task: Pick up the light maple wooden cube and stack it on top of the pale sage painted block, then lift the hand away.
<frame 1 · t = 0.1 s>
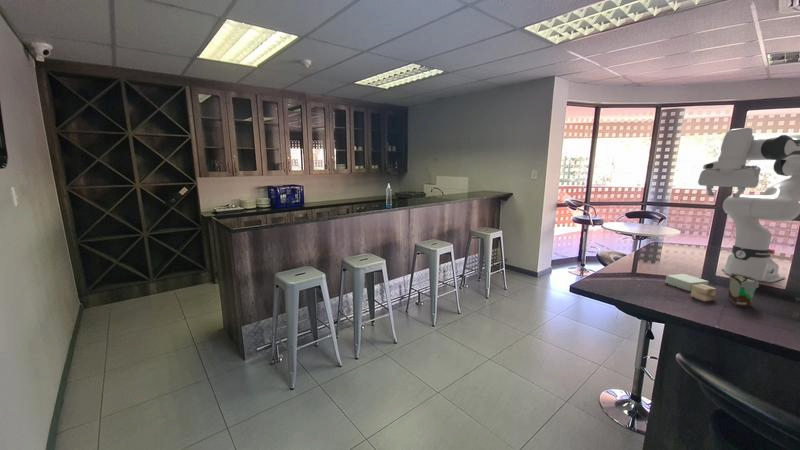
hand: (722, 196, 141), 39 cm above the countertop, tool pointing down, fingers open, 8 cm apart
food container: (742, 303, 122), on the countertop
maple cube: (702, 298, 127), on the countertop
sage block: (685, 286, 140), on the countertop
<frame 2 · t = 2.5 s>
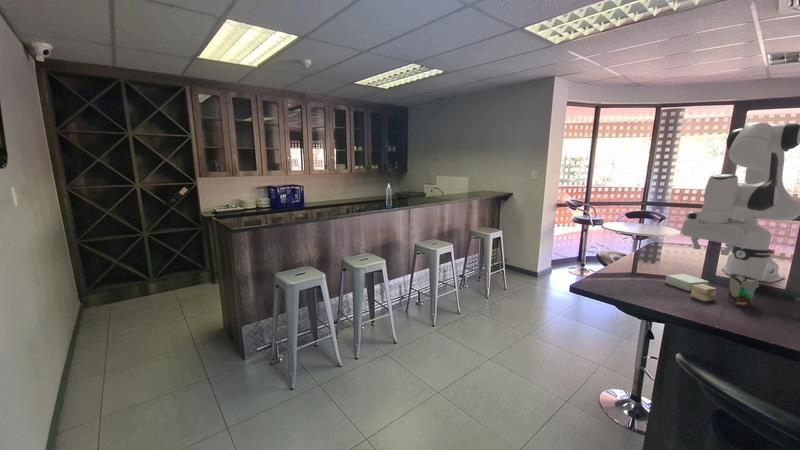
hand: (710, 251, 124), 19 cm above the countertop, tool pointing down, fingers open, 8 cm apart
nothing on the countertop moved.
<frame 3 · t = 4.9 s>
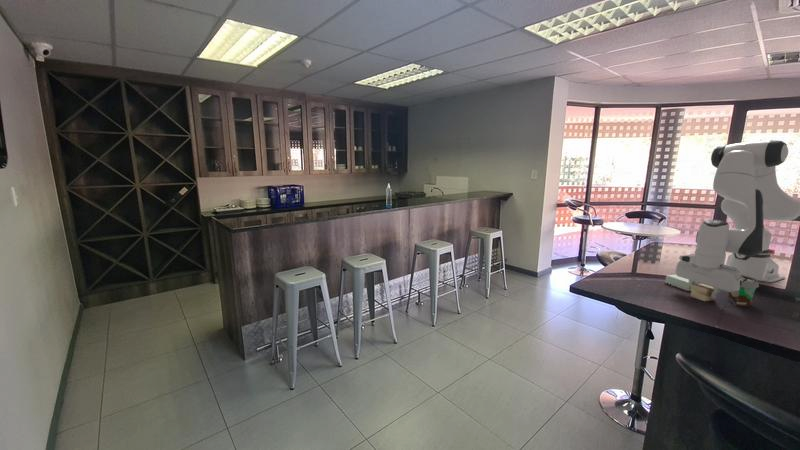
hand: (702, 294, 127), 2 cm above the countertop, tool pointing down, fingers closed on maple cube, 5 cm apart
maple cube: (702, 298, 127), on the countertop, touching gripper
everything else where it was.
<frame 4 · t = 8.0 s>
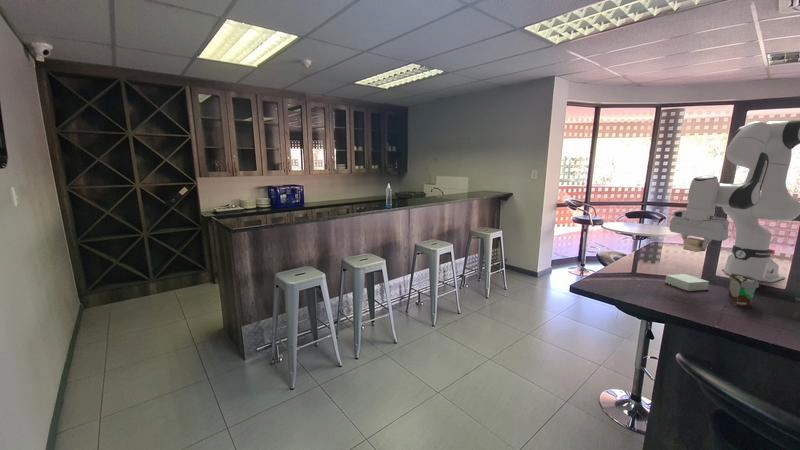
hand: (694, 246, 136), 18 cm above the countertop, tool pointing down, fingers closed on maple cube, 5 cm apart
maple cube: (694, 250, 136), point 17 cm above the countertop, touching gripper
everything else where it was.
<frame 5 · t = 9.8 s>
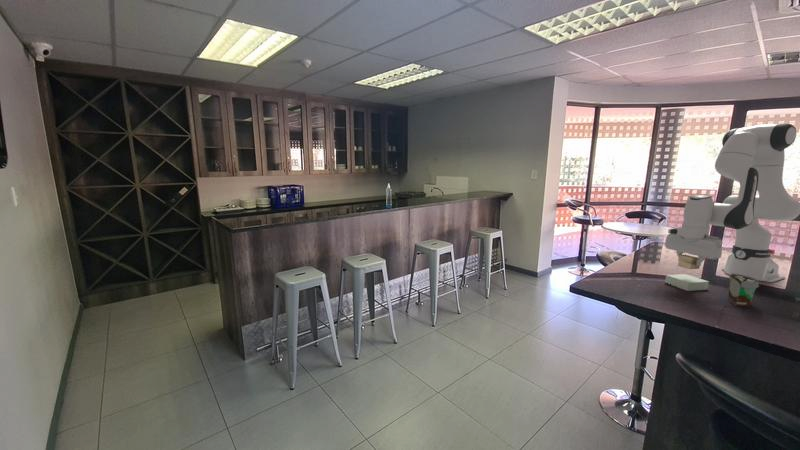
hand: (689, 263, 138), 10 cm above the countertop, tool pointing down, fingers closed on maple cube, 5 cm apart
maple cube: (688, 267, 139), point 9 cm above the countertop, touching gripper
everything else where it was.
when the fingers open (7 cm above the countertop, at t = 11.3 s): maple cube drops 2 cm, resting on sage block.
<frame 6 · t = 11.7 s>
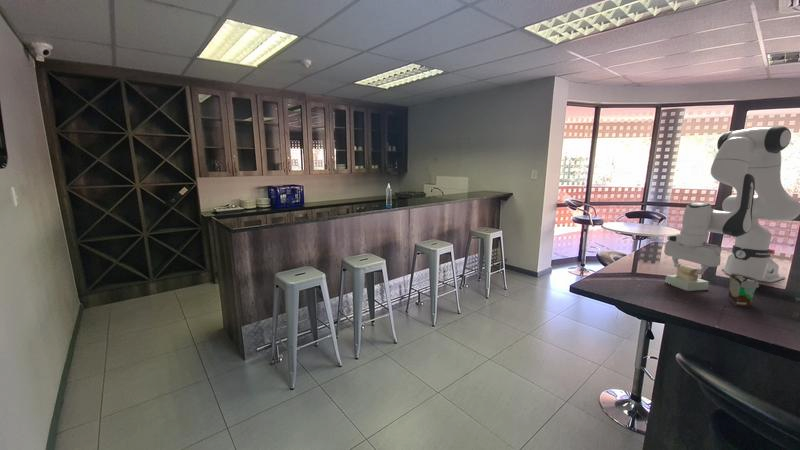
hand: (688, 270, 139), 7 cm above the countertop, tool pointing down, fingers open, 8 cm apart
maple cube: (686, 278, 140), point 4 cm above the countertop, touching sage block
sage block: (685, 286, 140), on the countertop, touching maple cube
everything else where it was.
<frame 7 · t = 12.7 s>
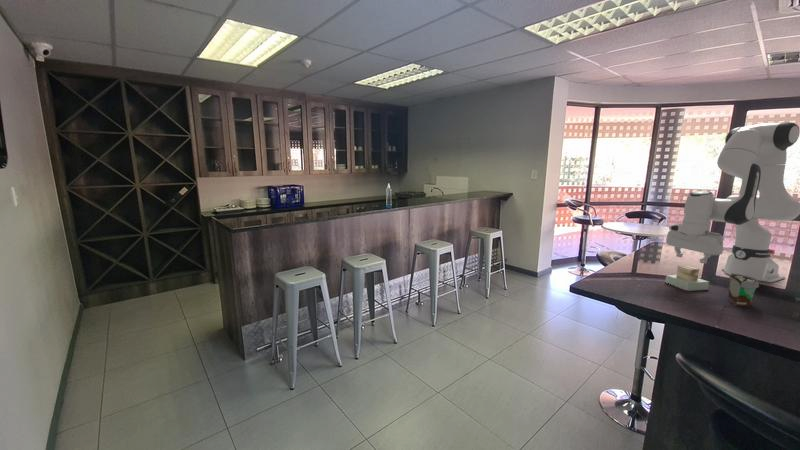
hand: (690, 259, 138), 12 cm above the countertop, tool pointing down, fingers open, 8 cm apart
nothing on the countertop moved.
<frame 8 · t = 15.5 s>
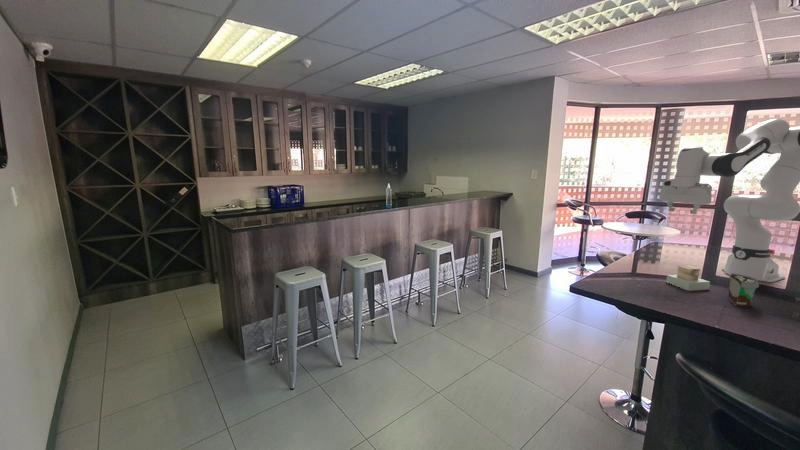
hand: (681, 212, 148), 31 cm above the countertop, tool pointing down, fingers open, 8 cm apart
nothing on the countertop moved.
at the end: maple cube 0.4 cm off-centre on the sage block, point 4.0 cm above the sage block's base; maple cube tilted 0°; the gripper is holding nothing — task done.
